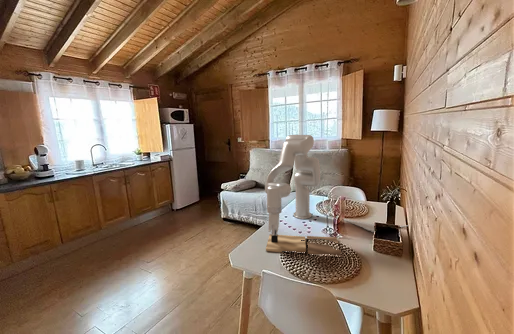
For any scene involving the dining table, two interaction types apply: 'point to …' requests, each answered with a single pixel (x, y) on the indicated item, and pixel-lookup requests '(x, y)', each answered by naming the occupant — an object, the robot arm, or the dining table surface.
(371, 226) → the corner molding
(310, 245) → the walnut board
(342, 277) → the dining table surface
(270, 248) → the oak plank
